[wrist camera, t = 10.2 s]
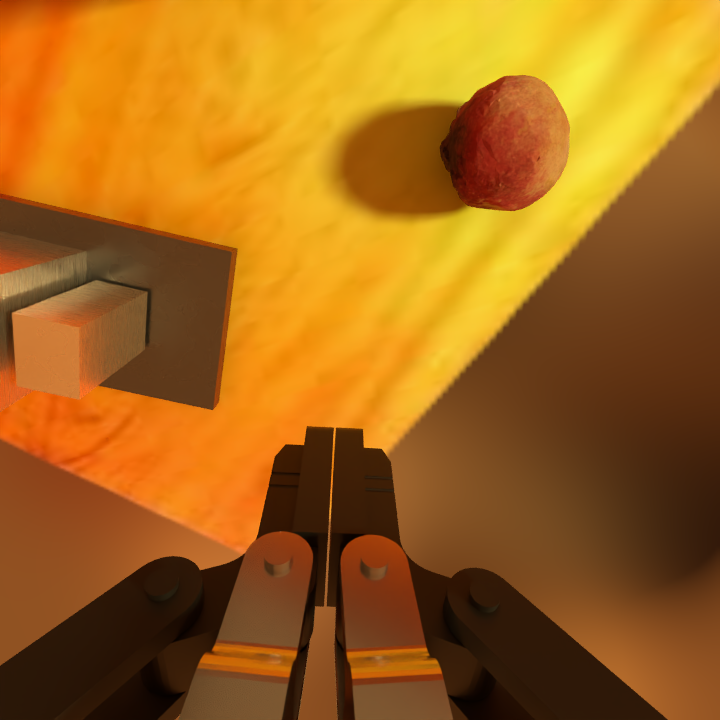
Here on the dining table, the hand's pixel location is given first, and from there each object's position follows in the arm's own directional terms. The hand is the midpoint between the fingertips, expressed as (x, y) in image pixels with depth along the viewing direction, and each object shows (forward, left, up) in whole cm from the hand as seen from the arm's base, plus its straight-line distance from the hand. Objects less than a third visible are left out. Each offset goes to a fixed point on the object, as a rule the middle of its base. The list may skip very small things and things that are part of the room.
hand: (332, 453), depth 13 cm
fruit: (-10, +7, -27) cm, 29 cm away
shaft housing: (+8, -23, -26) cm, 36 cm away
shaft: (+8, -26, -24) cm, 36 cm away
